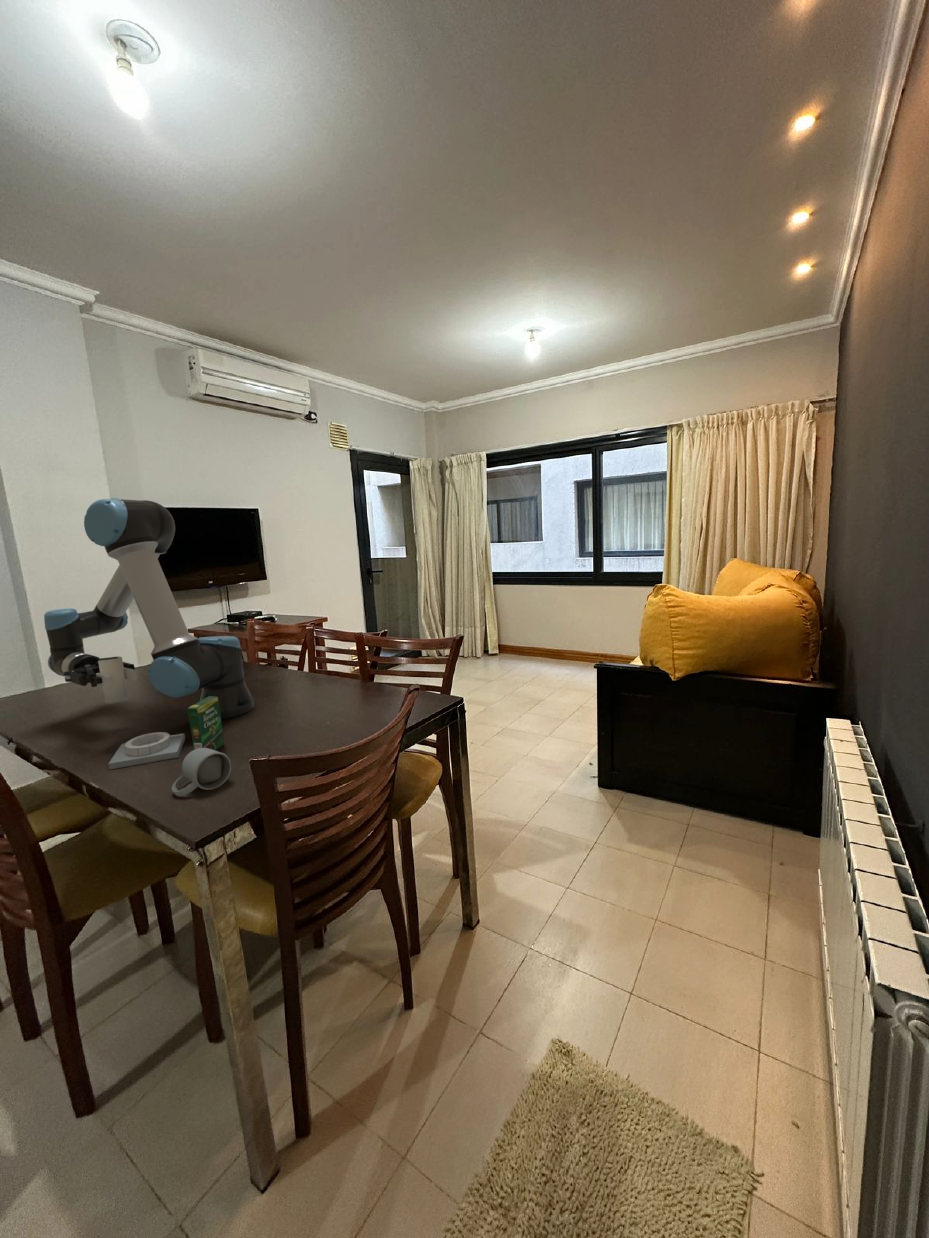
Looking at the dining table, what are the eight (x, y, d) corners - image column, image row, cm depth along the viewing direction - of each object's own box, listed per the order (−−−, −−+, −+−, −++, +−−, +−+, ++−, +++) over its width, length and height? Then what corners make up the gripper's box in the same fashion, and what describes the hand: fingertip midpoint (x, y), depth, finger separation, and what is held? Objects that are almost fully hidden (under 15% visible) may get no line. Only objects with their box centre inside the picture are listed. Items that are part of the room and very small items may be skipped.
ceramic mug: (215, 770, 112) (210, 739, 110) (234, 780, 107) (229, 747, 106) (165, 792, 104) (159, 758, 102) (183, 803, 99) (177, 768, 97)
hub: (185, 738, 130) (183, 726, 130) (178, 757, 119) (176, 743, 119) (122, 748, 125) (120, 736, 124) (109, 769, 114) (106, 755, 113)
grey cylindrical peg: (130, 695, 131) (123, 654, 129) (126, 701, 127) (118, 658, 125) (108, 698, 129) (101, 656, 127) (103, 704, 125) (95, 661, 123)
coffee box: (204, 759, 118) (197, 707, 115) (193, 759, 118) (186, 707, 116) (225, 744, 125) (219, 695, 123) (215, 744, 126) (208, 695, 123)
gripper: (122, 672, 145) (162, 682, 132) (46, 689, 130) (83, 704, 117) (118, 647, 143) (157, 655, 131) (40, 662, 129) (77, 673, 116)
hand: (122, 678), depth 124 cm, fingers closed on grey cylindrical peg, 5 cm apart
